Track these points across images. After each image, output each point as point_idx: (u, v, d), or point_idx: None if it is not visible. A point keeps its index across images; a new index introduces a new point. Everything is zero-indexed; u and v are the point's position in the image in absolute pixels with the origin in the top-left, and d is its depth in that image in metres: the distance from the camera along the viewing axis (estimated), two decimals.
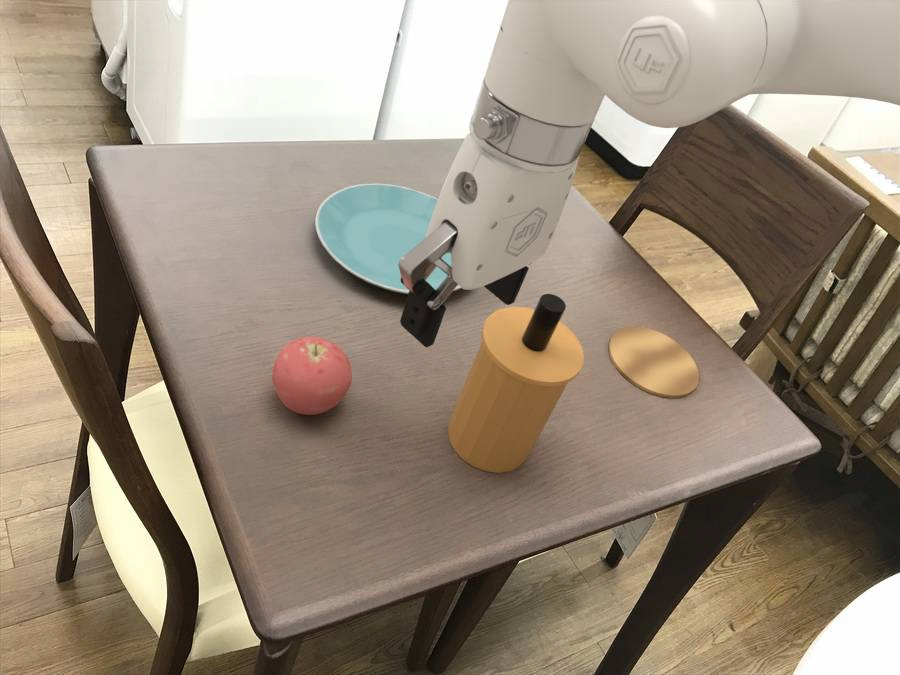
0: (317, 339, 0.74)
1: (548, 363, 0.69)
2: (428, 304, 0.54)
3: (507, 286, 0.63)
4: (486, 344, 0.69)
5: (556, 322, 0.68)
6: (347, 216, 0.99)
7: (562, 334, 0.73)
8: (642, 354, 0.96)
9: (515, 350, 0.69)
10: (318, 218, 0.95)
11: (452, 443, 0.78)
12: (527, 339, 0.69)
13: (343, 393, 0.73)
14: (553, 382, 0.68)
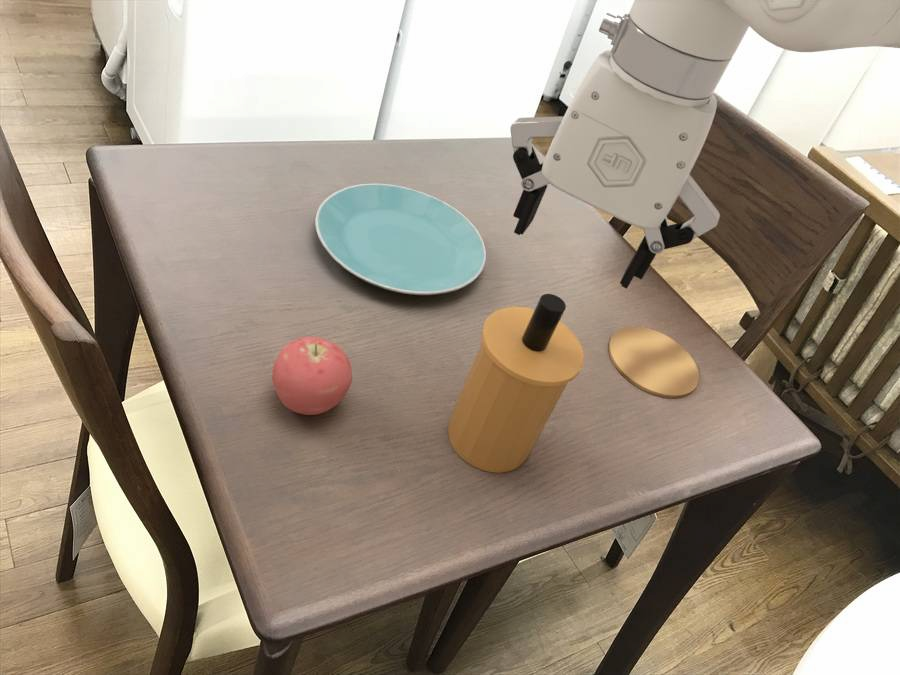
0: (317, 339, 0.74)
1: (548, 363, 0.69)
2: None
3: (629, 265, 0.62)
4: (486, 344, 0.69)
5: (556, 322, 0.68)
6: (347, 216, 0.99)
7: (562, 334, 0.73)
8: (642, 354, 0.96)
9: (515, 350, 0.69)
10: (318, 218, 0.95)
11: (452, 443, 0.78)
12: (527, 339, 0.69)
13: (343, 393, 0.73)
14: (553, 382, 0.68)
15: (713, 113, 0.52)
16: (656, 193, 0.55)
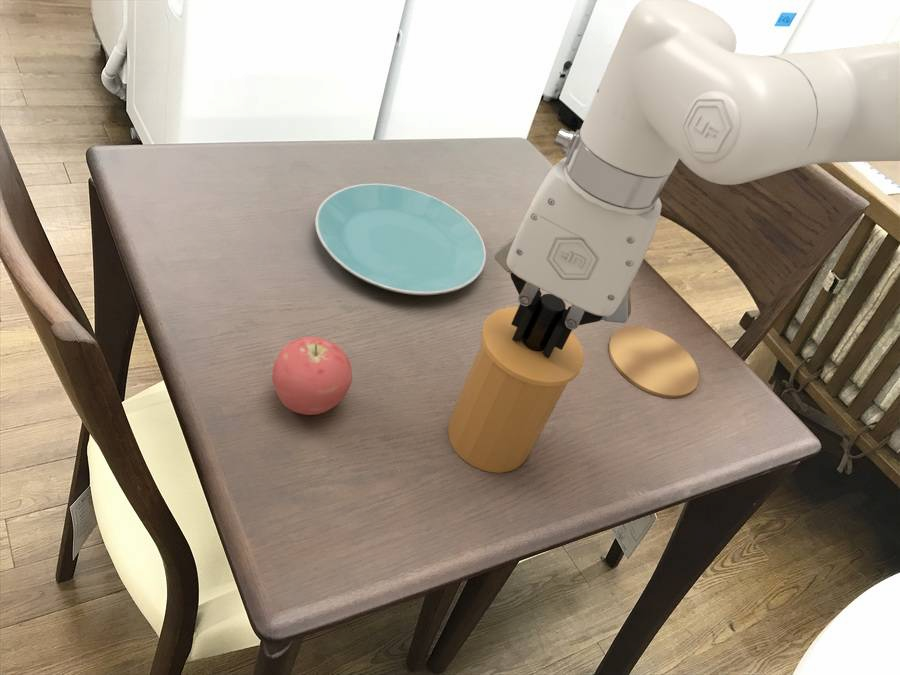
0: (317, 339, 0.74)
1: (548, 363, 0.69)
2: (520, 300, 0.67)
3: None
4: (486, 344, 0.69)
5: (556, 322, 0.68)
6: (347, 216, 0.99)
7: None
8: (642, 354, 0.96)
9: (515, 350, 0.69)
10: (318, 218, 0.95)
11: (452, 443, 0.78)
12: (527, 339, 0.69)
13: (343, 393, 0.73)
14: (553, 382, 0.68)
15: (657, 219, 0.58)
16: (608, 286, 0.61)
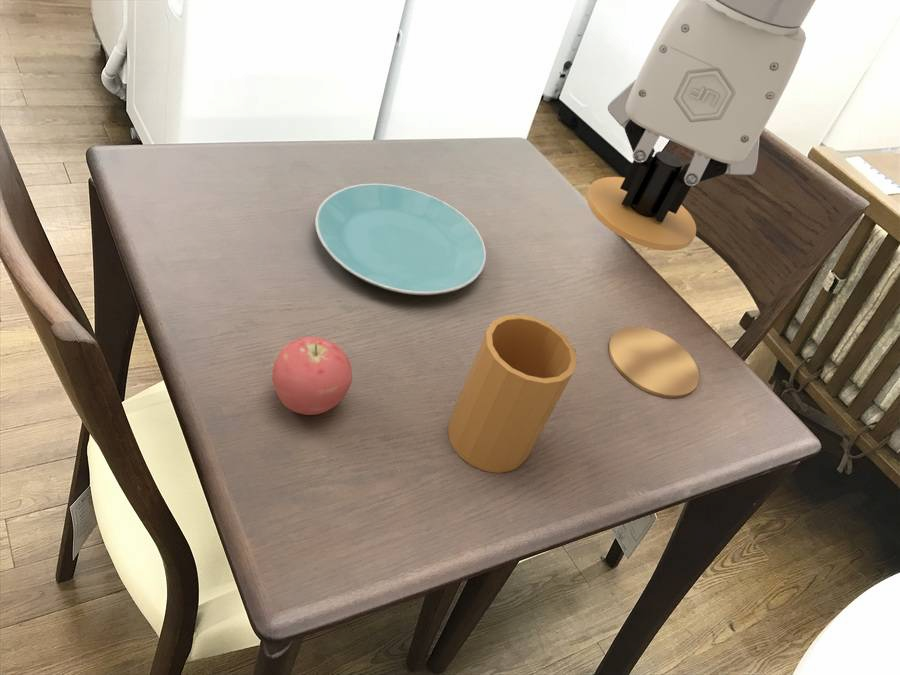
0: (317, 339, 0.74)
1: (661, 228, 0.64)
2: None
3: (664, 200, 0.64)
4: (595, 207, 0.64)
5: (672, 181, 0.63)
6: (347, 216, 0.99)
7: None
8: (642, 354, 0.96)
9: (626, 215, 0.64)
10: (318, 218, 0.95)
11: (452, 443, 0.78)
12: (638, 203, 0.65)
13: (343, 393, 0.73)
14: (669, 246, 0.63)
15: (803, 42, 0.53)
16: (743, 126, 0.56)
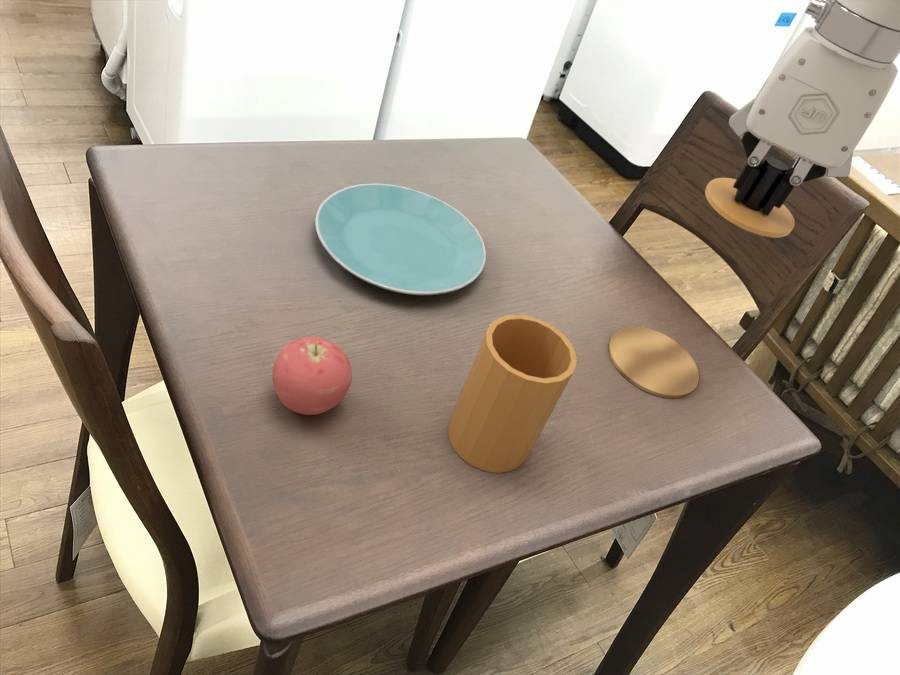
0: (317, 339, 0.74)
1: (767, 219, 0.79)
2: (748, 161, 0.77)
3: (770, 197, 0.79)
4: (714, 202, 0.79)
5: (778, 181, 0.78)
6: (347, 216, 0.99)
7: None
8: (642, 354, 0.96)
9: (739, 208, 0.79)
10: (318, 218, 0.95)
11: (452, 443, 0.78)
12: (748, 199, 0.80)
13: (343, 393, 0.73)
14: (776, 233, 0.78)
15: (896, 74, 0.68)
16: (844, 138, 0.71)
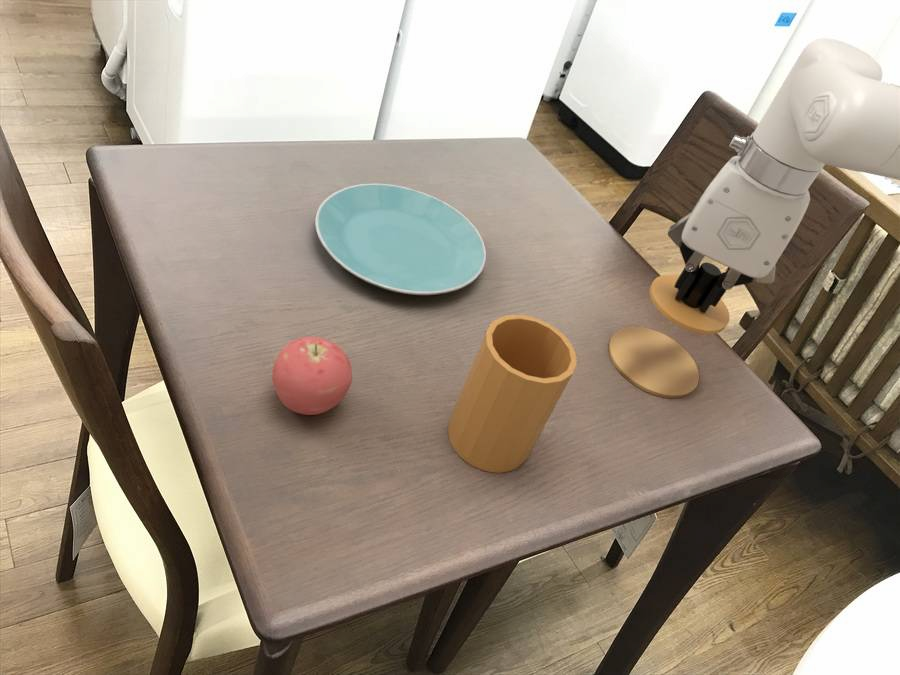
0: (317, 339, 0.74)
1: (704, 317, 0.88)
2: None
3: (706, 297, 0.88)
4: (656, 302, 0.88)
5: (713, 284, 0.87)
6: (347, 216, 0.99)
7: None
8: (642, 354, 0.96)
9: (678, 307, 0.89)
10: (318, 218, 0.95)
11: (452, 443, 0.78)
12: (687, 298, 0.89)
13: (343, 393, 0.73)
14: (710, 331, 0.87)
15: (808, 203, 0.77)
16: (765, 254, 0.81)
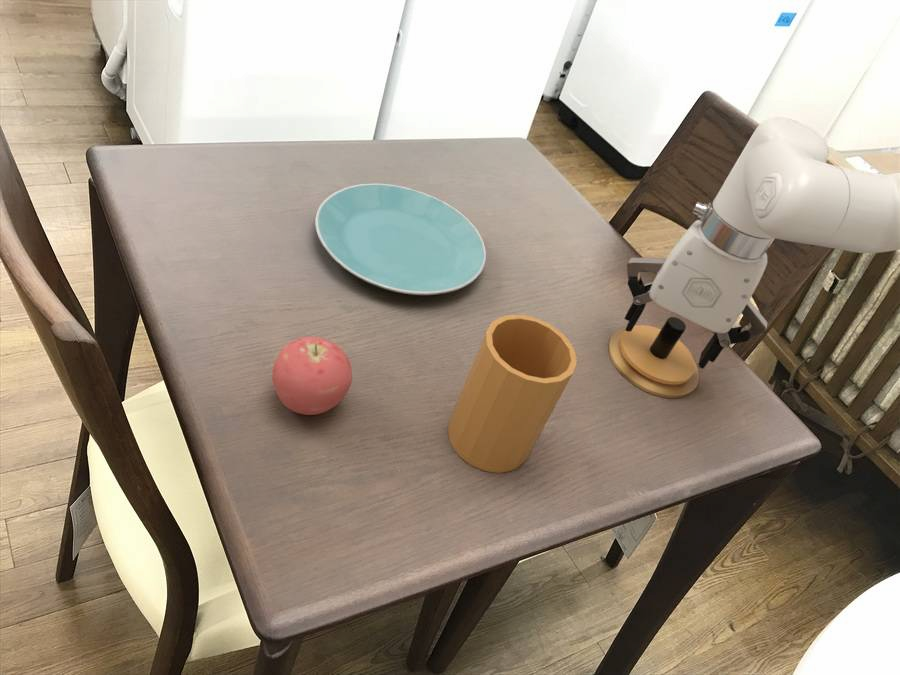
0: (317, 339, 0.74)
1: (671, 367, 0.94)
2: (633, 297, 0.91)
3: (704, 353, 0.92)
4: (626, 353, 0.94)
5: (678, 337, 0.93)
6: (347, 216, 0.99)
7: (677, 346, 0.98)
8: None
9: (647, 358, 0.94)
10: (318, 218, 0.95)
11: (452, 443, 0.78)
12: (655, 350, 0.94)
13: (343, 393, 0.73)
14: (676, 382, 0.92)
15: (765, 266, 0.83)
16: (727, 312, 0.86)
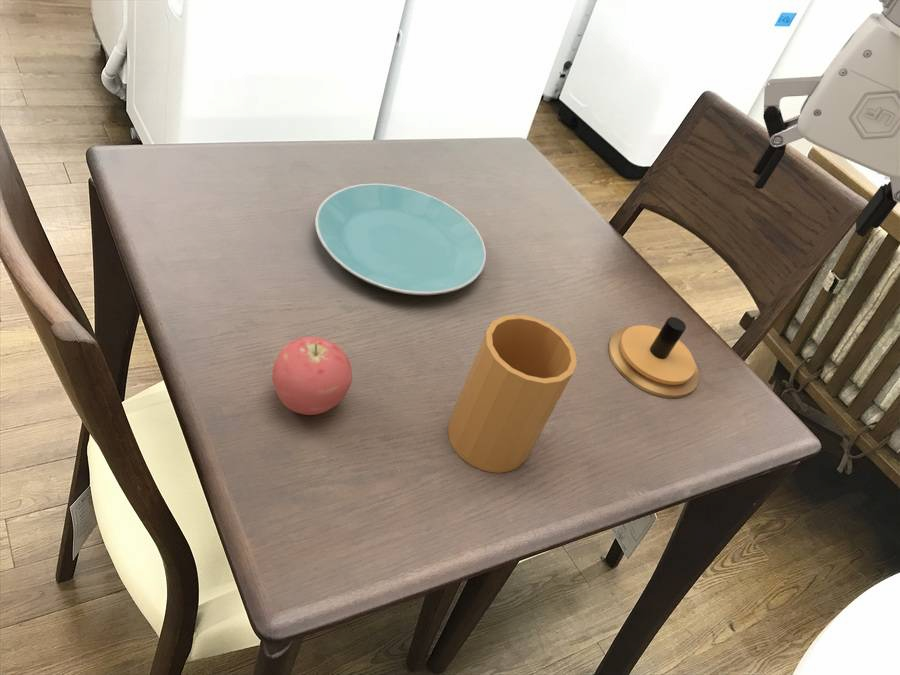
0: (317, 339, 0.74)
1: (671, 367, 0.94)
2: (770, 137, 0.66)
3: (867, 215, 0.67)
4: (626, 353, 0.94)
5: (678, 337, 0.93)
6: (347, 216, 0.99)
7: (677, 346, 0.98)
8: None
9: (647, 358, 0.94)
10: (318, 218, 0.95)
11: (452, 443, 0.78)
12: (655, 350, 0.94)
13: (343, 393, 0.73)
14: (676, 382, 0.92)
15: None
16: None
